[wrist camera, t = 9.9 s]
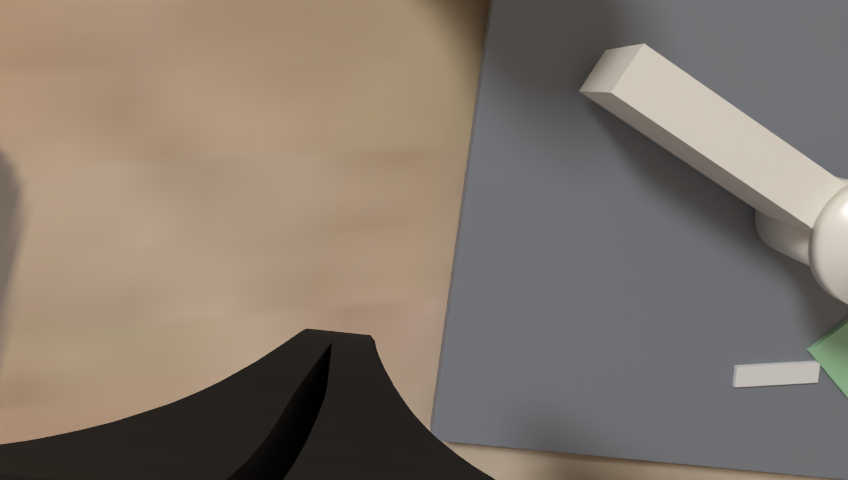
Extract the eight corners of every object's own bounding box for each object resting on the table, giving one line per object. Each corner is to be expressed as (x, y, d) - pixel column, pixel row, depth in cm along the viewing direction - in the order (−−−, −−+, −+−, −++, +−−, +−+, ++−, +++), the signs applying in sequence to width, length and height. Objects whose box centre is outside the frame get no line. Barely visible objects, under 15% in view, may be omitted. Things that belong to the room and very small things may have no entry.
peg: (975, 261, 20) (1113, 306, 16) (897, 349, 21) (1011, 411, 17) (624, 15, 18) (684, -4, 14) (552, 123, 19) (590, 135, 15)
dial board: (969, 476, 24) (997, 496, 23) (430, 424, 23) (431, 442, 22) (1167, 4, 19) (1214, -1, 18) (502, -89, 18) (508, -100, 17)
